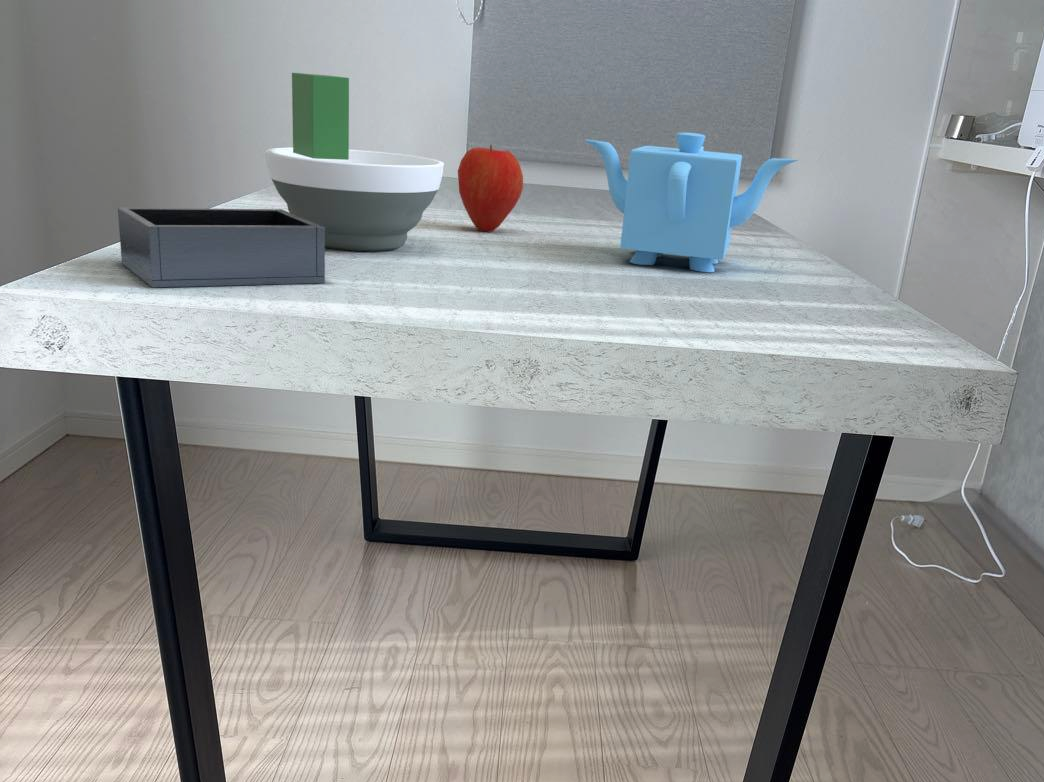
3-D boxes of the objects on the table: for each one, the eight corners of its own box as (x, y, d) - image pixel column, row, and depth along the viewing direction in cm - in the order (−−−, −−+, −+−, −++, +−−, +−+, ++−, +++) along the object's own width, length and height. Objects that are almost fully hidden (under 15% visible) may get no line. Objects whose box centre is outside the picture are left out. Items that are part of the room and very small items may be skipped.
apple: (530, 232, 142) (537, 147, 138) (497, 237, 135) (503, 148, 131) (477, 224, 146) (482, 141, 142) (442, 228, 139) (446, 141, 135)
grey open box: (152, 287, 90) (148, 226, 88) (121, 263, 99) (117, 207, 97) (325, 283, 98) (325, 226, 96) (282, 261, 107) (281, 209, 105)
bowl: (447, 263, 114) (450, 170, 110) (260, 253, 111) (258, 156, 107) (434, 236, 132) (437, 155, 128) (273, 227, 128) (272, 143, 124)
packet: (348, 159, 112) (349, 77, 109) (312, 158, 110) (312, 74, 107) (327, 154, 117) (327, 75, 113) (292, 152, 115) (291, 72, 111)
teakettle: (664, 278, 116) (682, 136, 111) (568, 249, 131) (579, 122, 125) (785, 274, 126) (808, 144, 121) (684, 248, 140) (700, 130, 135)
